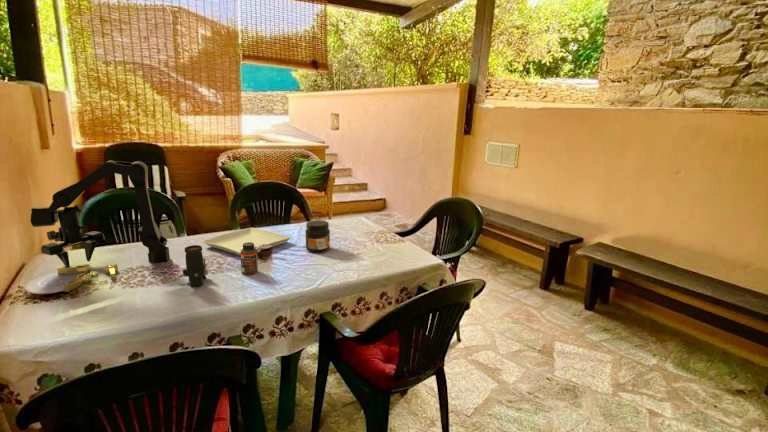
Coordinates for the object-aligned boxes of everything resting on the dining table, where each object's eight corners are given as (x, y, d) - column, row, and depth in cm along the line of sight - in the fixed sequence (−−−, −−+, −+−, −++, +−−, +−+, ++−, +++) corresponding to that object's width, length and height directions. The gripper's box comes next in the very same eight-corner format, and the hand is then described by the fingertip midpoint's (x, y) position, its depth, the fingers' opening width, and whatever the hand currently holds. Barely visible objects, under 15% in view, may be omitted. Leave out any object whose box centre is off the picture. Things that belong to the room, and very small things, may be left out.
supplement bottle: (243, 276, 157) (241, 247, 154) (240, 270, 162) (238, 242, 159) (259, 273, 160) (258, 245, 157) (256, 268, 165) (254, 240, 162)
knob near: (105, 271, 155) (103, 264, 154) (117, 269, 157) (116, 262, 156) (107, 281, 147) (105, 274, 146) (120, 278, 149) (119, 271, 149)
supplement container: (323, 254, 181) (323, 227, 177) (301, 251, 184) (300, 224, 181) (334, 247, 190) (333, 221, 187) (312, 244, 193) (312, 218, 190)
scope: (204, 240, 152) (207, 249, 143) (208, 277, 156) (211, 287, 147) (179, 243, 148) (180, 252, 140) (183, 280, 152) (184, 291, 143)
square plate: (292, 244, 194) (292, 236, 193) (243, 262, 172) (243, 252, 171) (251, 233, 208) (251, 225, 207) (201, 248, 186) (201, 240, 185)
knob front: (92, 270, 156) (91, 263, 155) (87, 274, 152) (86, 267, 151) (62, 271, 154) (61, 264, 154) (56, 275, 150) (54, 268, 150)
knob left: (83, 279, 148) (82, 272, 147) (94, 279, 148) (93, 272, 147) (60, 291, 138) (59, 284, 138) (72, 292, 138) (70, 284, 138)
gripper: (82, 214, 164) (90, 252, 168) (27, 228, 148) (37, 269, 152) (101, 218, 160) (108, 257, 164) (46, 232, 143) (55, 275, 148)
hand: (78, 264), depth 157 cm, fingers open, 7 cm apart
